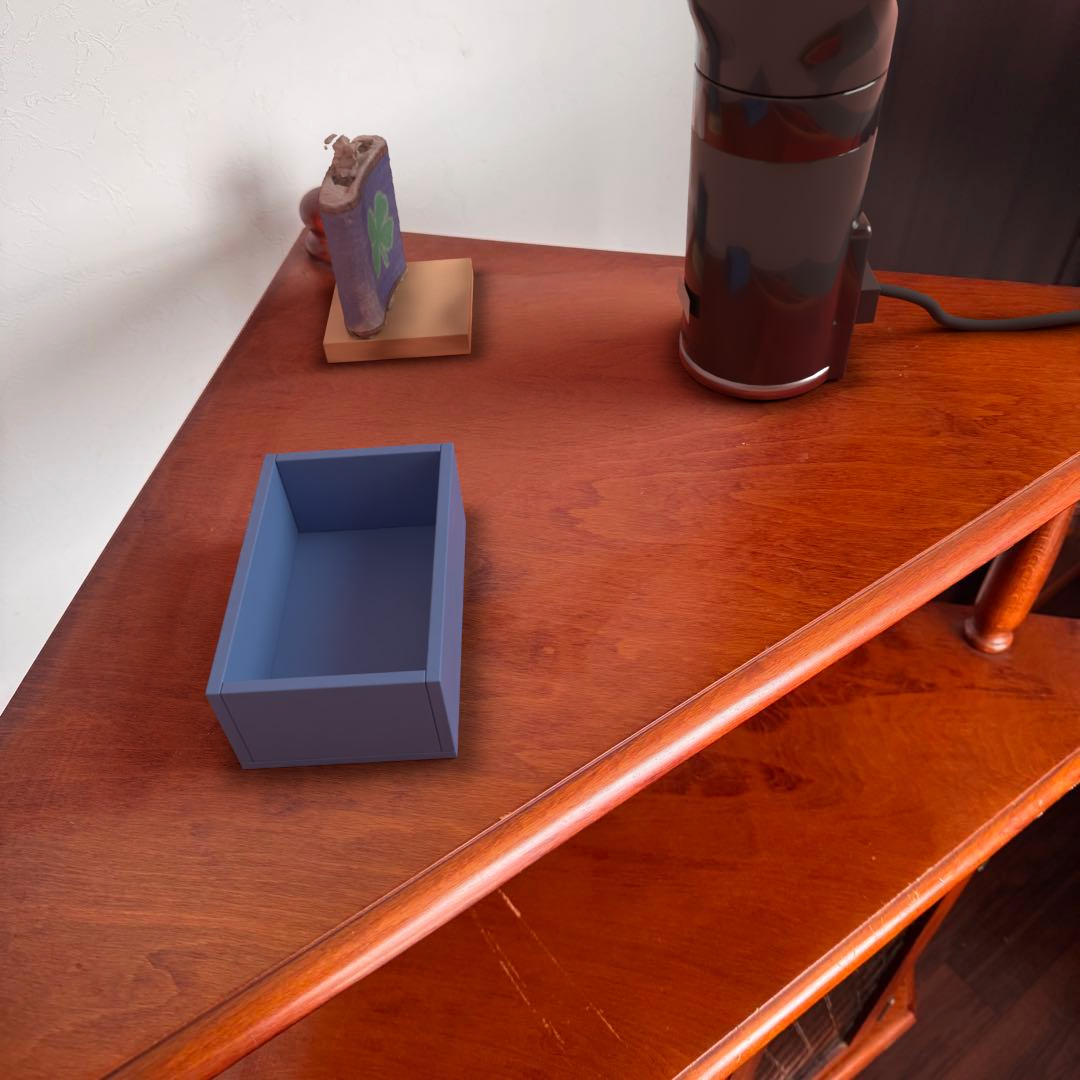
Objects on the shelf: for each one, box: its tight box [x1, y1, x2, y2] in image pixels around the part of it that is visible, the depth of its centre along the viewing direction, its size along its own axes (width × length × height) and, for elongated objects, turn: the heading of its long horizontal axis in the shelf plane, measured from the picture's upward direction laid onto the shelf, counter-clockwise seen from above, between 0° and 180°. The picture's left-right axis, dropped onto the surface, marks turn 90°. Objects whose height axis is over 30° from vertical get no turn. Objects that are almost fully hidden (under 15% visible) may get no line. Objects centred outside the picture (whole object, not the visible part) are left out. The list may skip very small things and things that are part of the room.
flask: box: [316, 133, 408, 339], centre depth 61 cm, size 9×3×11 cm, turn 172°
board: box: [322, 257, 474, 364], centre depth 66 cm, size 9×9×2 cm
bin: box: [204, 441, 467, 770], centre depth 46 cm, size 9×14×6 cm, turn 1°
